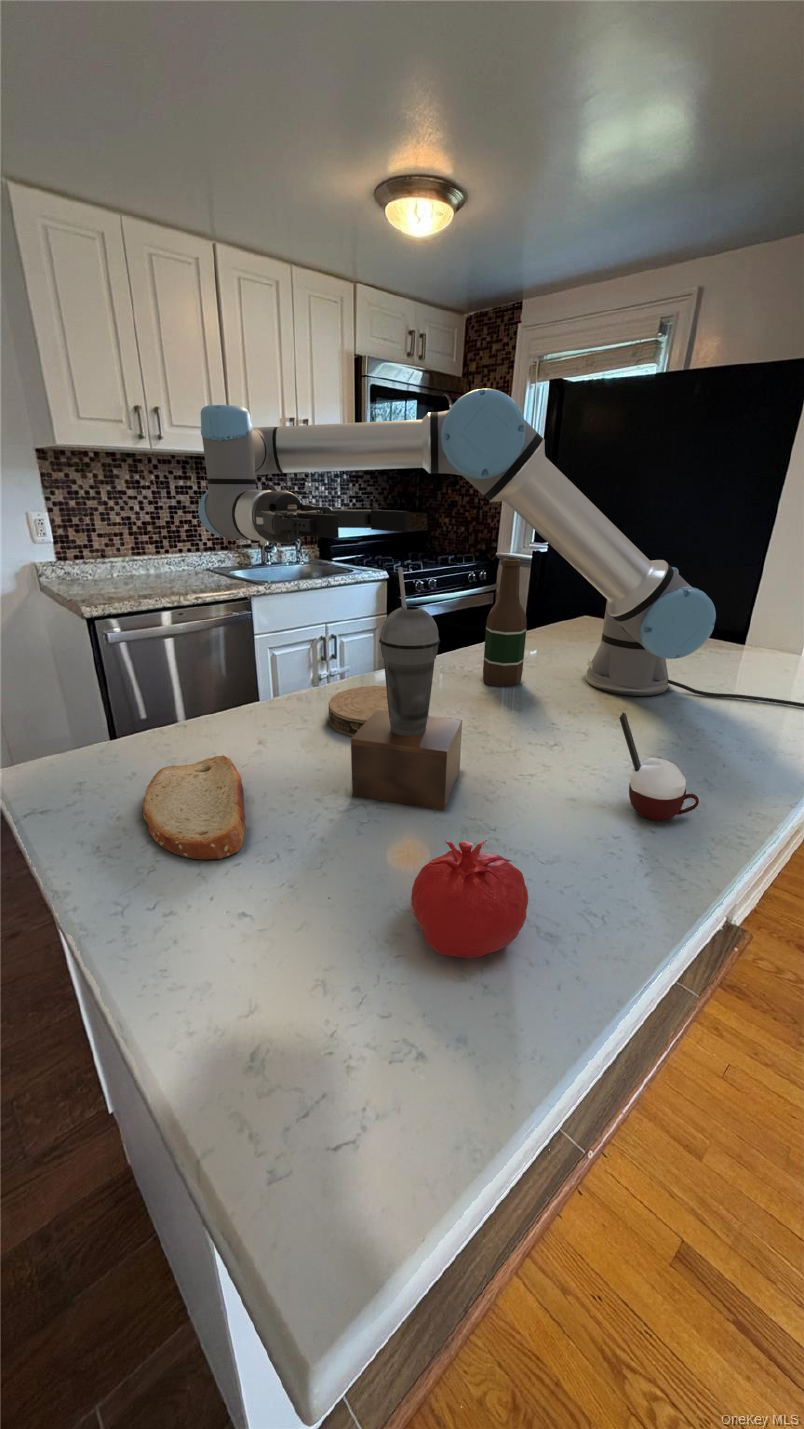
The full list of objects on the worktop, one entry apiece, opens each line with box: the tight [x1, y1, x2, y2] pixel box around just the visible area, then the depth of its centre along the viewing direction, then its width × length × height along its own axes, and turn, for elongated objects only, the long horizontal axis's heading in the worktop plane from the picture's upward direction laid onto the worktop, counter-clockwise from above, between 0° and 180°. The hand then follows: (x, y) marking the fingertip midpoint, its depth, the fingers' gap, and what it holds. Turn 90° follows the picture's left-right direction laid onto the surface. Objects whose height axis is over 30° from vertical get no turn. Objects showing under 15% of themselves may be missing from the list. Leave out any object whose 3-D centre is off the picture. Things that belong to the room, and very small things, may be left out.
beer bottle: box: [482, 557, 528, 688], centre depth 110 cm, size 8×8×24 cm
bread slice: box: [142, 754, 246, 860], centre depth 68 cm, size 18×18×4 cm
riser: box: [350, 710, 463, 811], centre depth 73 cm, size 12×10×8 cm
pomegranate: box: [410, 839, 529, 959], centre depth 49 cm, size 10×10×9 cm
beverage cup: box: [378, 566, 441, 736], centre depth 68 cm, size 7×7×20 cm
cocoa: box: [618, 711, 700, 822], centre depth 67 cm, size 10×6×12 cm, turn 38°
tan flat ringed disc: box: [327, 685, 388, 737], centre depth 95 cm, size 16×16×3 cm
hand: (374, 524), depth 74 cm, fingers open, 13 cm apart
